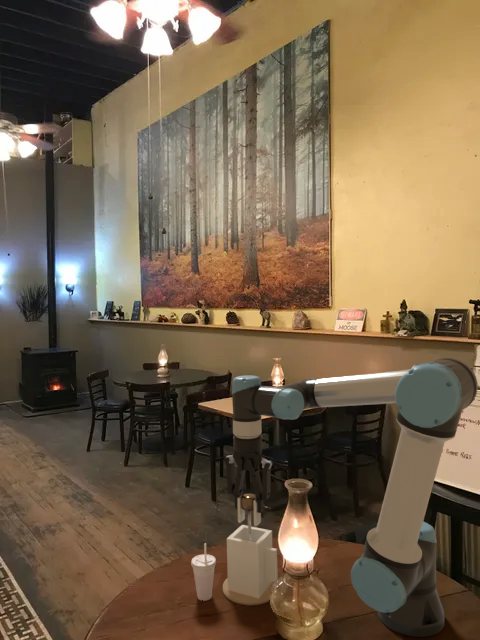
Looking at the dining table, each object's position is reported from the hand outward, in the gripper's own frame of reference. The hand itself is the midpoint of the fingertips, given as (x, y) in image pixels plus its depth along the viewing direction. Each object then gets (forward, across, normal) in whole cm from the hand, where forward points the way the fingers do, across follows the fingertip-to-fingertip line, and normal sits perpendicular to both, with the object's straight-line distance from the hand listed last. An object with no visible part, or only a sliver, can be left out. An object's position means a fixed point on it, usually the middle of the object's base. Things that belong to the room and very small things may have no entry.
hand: (249, 522), depth 135 cm
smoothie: (+18, +9, +8) cm, 22 cm away
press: (+18, 0, 0) cm, 18 cm away
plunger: (+15, 0, 0) cm, 15 cm away
